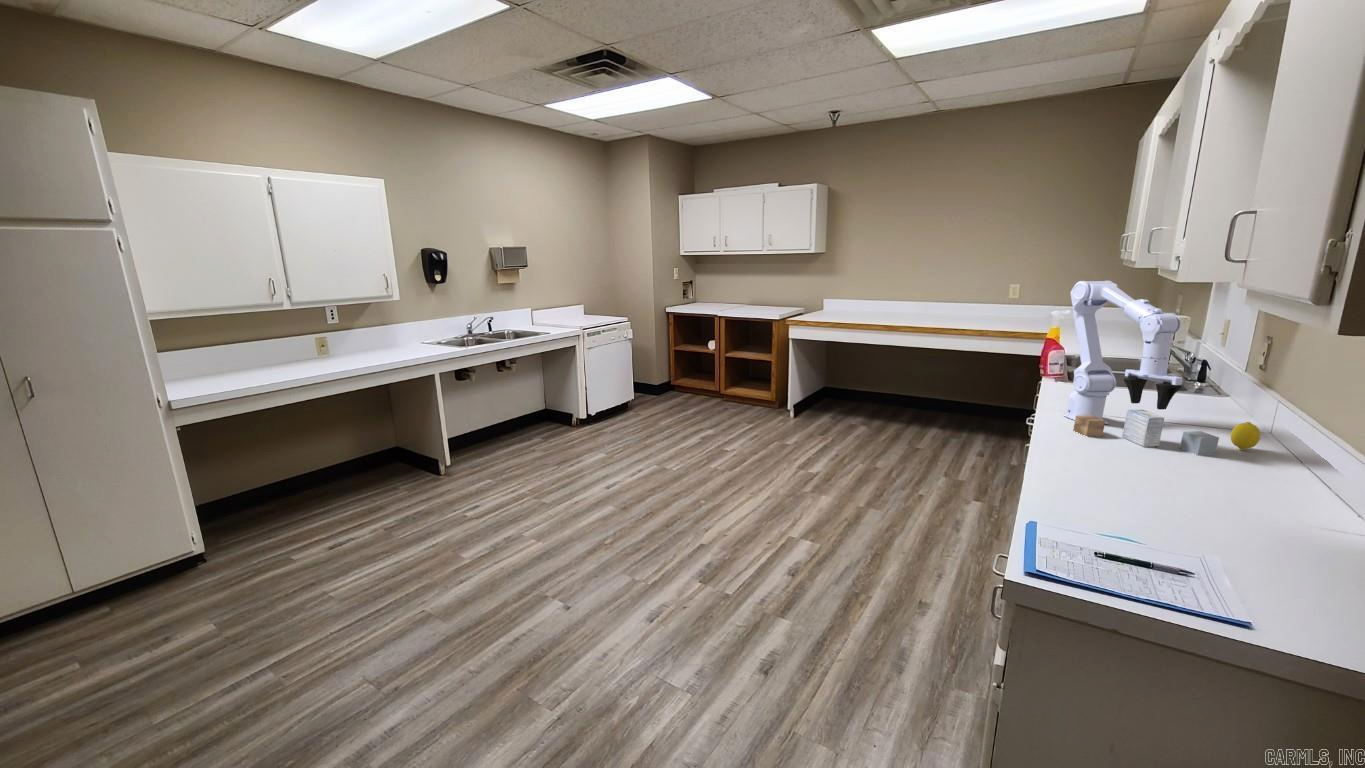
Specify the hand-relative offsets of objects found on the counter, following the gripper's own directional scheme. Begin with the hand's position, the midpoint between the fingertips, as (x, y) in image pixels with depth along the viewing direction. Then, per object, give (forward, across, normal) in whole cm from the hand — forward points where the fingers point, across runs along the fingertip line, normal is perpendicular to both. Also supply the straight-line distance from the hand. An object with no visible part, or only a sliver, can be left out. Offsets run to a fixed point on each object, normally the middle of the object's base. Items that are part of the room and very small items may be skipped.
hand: (1148, 406), depth 152 cm
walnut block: (+10, -10, -8) cm, 16 cm away
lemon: (+12, +8, +22) cm, 26 cm away
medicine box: (+11, -1, 0) cm, 11 cm away
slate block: (+11, +8, +9) cm, 16 cm away
